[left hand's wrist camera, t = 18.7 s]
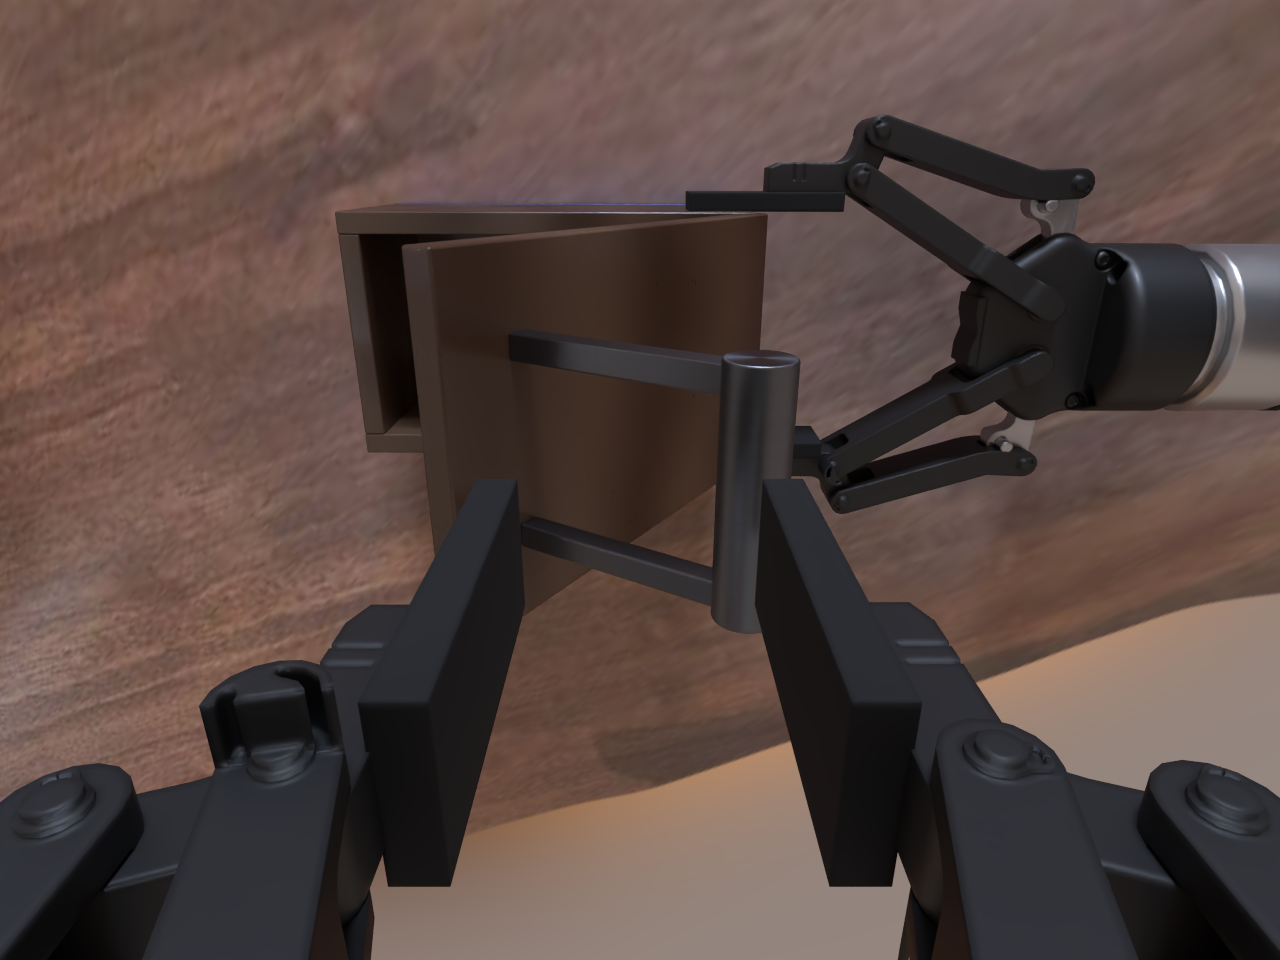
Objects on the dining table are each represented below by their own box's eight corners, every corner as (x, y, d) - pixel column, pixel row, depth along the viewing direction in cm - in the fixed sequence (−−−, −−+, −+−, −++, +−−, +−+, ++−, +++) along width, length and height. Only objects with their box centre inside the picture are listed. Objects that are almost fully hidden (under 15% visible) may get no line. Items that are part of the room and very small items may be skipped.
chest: (421, 396, 44) (367, 452, 35) (400, 202, 40) (334, 211, 31) (722, 397, 44) (743, 453, 35) (731, 203, 40) (756, 212, 31)
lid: (443, 644, 21) (720, 765, 16) (399, 245, 17) (746, 269, 13) (735, 455, 35) (925, 494, 30) (747, 213, 31) (967, 219, 27)
